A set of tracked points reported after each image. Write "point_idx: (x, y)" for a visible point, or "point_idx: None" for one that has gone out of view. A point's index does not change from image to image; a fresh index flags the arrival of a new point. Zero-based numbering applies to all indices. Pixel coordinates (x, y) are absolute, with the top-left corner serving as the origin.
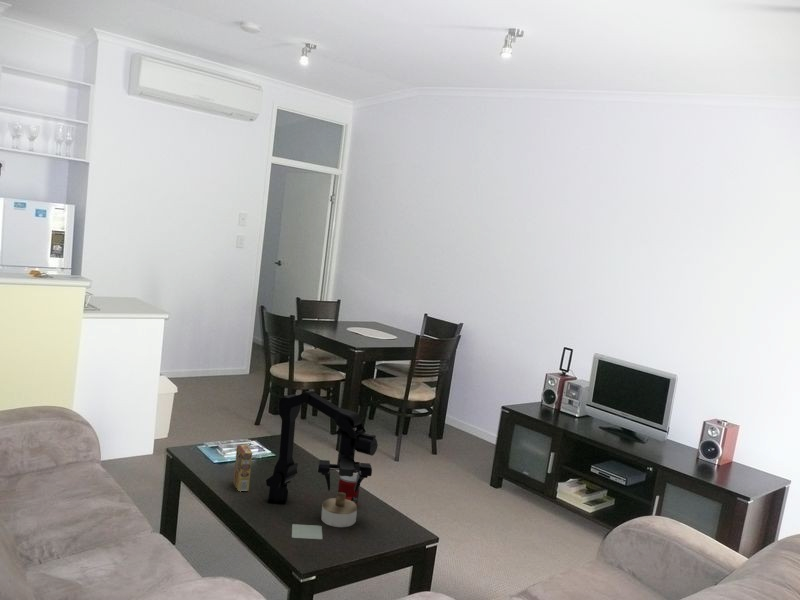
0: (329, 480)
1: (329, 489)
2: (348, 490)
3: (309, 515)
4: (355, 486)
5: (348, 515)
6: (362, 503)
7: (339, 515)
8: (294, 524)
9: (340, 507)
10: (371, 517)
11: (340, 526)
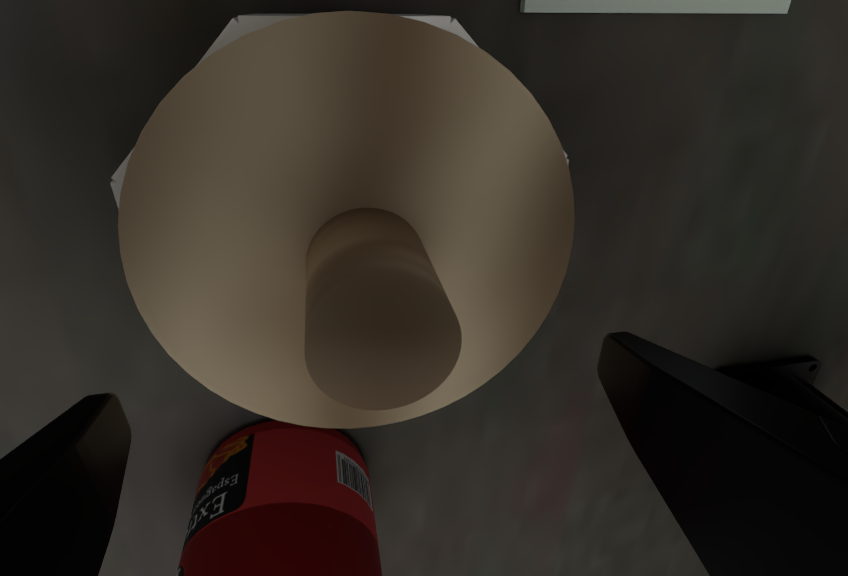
0: (833, 466)
1: (630, 344)
2: (280, 564)
3: (587, 245)
4: (64, 520)
5: (224, 29)
6: (169, 527)
7: None
8: (772, 6)
9: (358, 184)
10: (24, 330)
11: None
